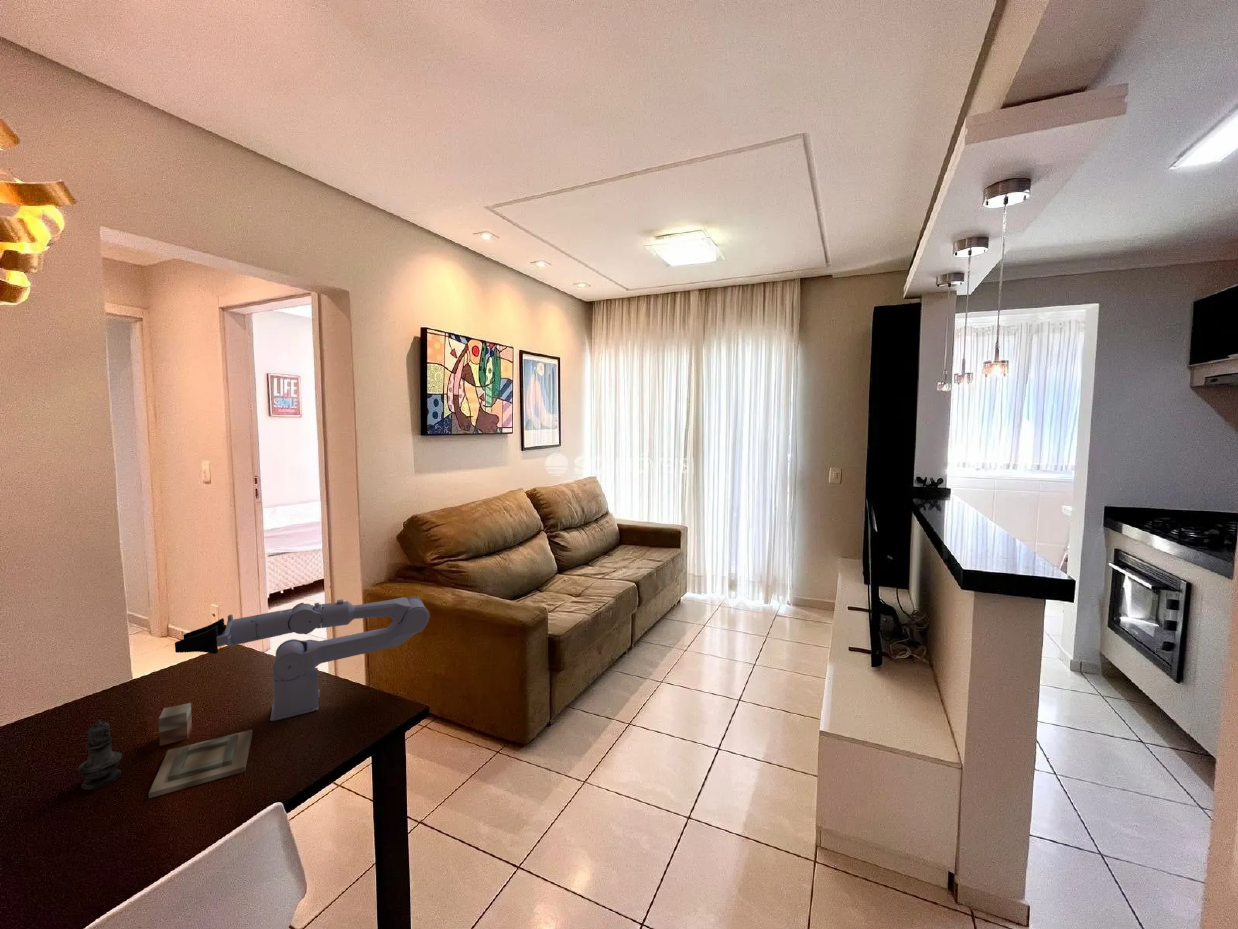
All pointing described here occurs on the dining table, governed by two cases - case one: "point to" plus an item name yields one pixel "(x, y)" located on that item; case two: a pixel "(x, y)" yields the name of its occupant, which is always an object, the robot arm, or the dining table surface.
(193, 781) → the pocket board
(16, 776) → the dining table surface
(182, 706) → the brown and beige block
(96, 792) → the dining table surface
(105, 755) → the dark grey chess piece
